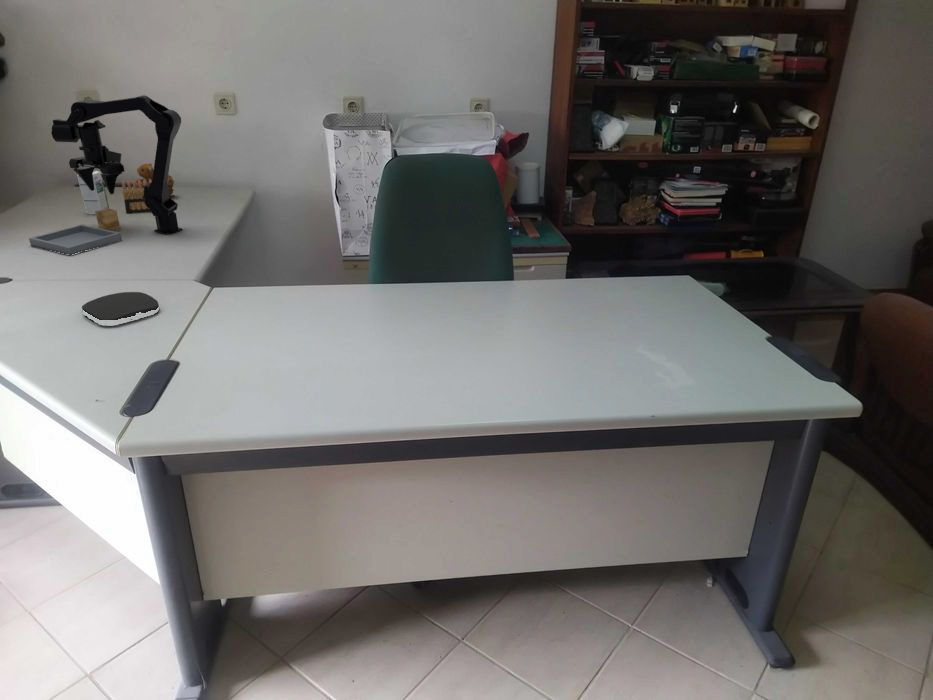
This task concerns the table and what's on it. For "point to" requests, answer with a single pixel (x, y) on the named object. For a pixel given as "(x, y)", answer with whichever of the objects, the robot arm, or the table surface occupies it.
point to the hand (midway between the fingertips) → (102, 192)
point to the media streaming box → (120, 305)
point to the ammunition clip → (134, 197)
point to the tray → (75, 239)
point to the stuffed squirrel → (147, 174)
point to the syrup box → (94, 194)
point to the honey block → (108, 219)
